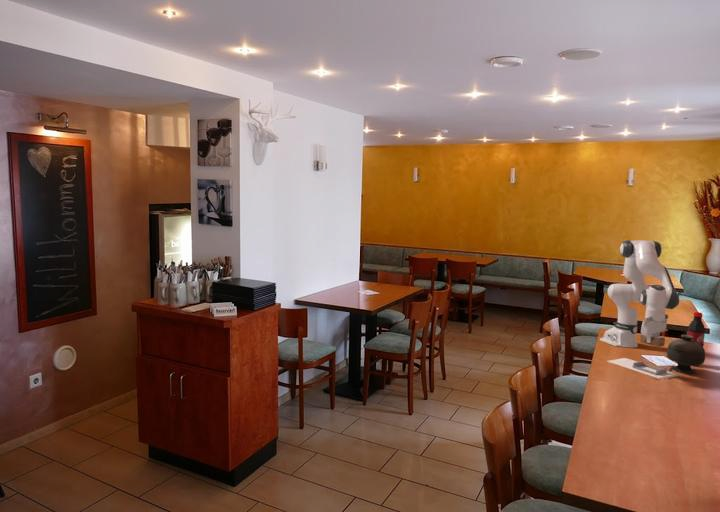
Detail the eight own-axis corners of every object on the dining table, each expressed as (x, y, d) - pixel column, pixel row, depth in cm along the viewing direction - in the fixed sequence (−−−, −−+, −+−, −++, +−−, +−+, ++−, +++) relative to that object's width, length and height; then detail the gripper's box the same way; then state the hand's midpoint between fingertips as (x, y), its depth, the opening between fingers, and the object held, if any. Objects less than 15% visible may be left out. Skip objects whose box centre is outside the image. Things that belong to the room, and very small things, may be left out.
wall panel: (606, 363, 296) (607, 356, 295) (624, 359, 303) (625, 353, 303) (658, 380, 270) (658, 373, 269) (676, 376, 277) (677, 369, 277)
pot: (671, 373, 279) (674, 336, 279) (660, 366, 297) (663, 330, 296) (709, 378, 275) (713, 340, 275) (695, 370, 293) (699, 334, 292)
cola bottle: (704, 367, 295) (710, 314, 292) (689, 366, 295) (695, 313, 292) (695, 362, 303) (701, 311, 300) (680, 361, 304) (686, 310, 300)
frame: (639, 342, 283) (640, 334, 282) (645, 340, 286) (645, 332, 286) (659, 346, 275) (660, 338, 274) (664, 345, 278) (665, 337, 277)
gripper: (651, 319, 270) (648, 345, 272) (670, 315, 282) (667, 340, 284) (638, 316, 275) (636, 342, 277) (657, 312, 287) (655, 337, 289)
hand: (652, 341), depth 280 cm, fingers closed on frame, 5 cm apart
